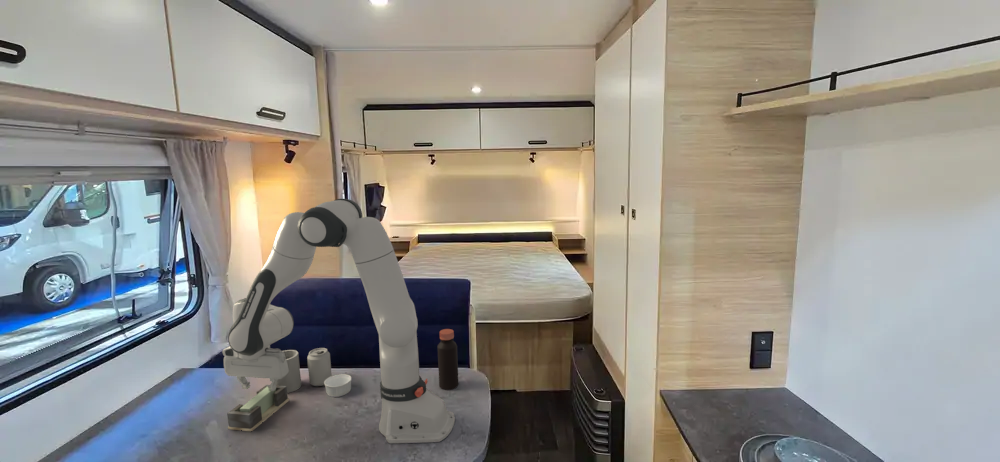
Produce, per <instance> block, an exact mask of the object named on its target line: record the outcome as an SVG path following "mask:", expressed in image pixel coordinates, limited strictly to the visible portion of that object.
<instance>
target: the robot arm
mask: <svg viewBox="0 0 1000 462" xmlns="http://www.w3.org/2000/svg"><path fill="white" fill-rule="evenodd" d="M342 245H345V246H346V247H347V248H348V249H349V251H350V253H351V256H352V258H353V262H354V265H355V267H356V270H357V272H358V274H359V278H360V280H361V282H362V285H363V288H364V292H365V294H366V298H367V302H368V305H369V309H370V312H371V315H372V318H373V323H374V325H375V327H376V330H377V331H376V332H377V334H378V343H379V344H378V345H379V350H378V351H379V362H380V363H379V364H380V377H381V378H380V379H381V380H380V382H379V384H380V385H379V390H380V392H379V393H380V398H381V414H380V419H379V420H380V421H379V425H378V430H379V432H380V433H381V435H383V436H384V437H385V440H386V442H387V443H388V444H411V443H413V444H415V443H417V444H418V443H420V444H421V443H439V442H442V441H443V440H445V438H447V437H448V436H449V435H450V433H452V430H453V429H454V426H455V422H456V418H455V413H454V412H453V411H451V410H447V405H446V402H445V400H444V399H443V398H442V397H440V396H438V395H437V394H435V393H434V392H432V390H430V389H428V388H427V384H428V382H429V381H428V378H425V380H423V379H422V376H421V374H420V361H419V347H418V346H419V345H418V337H417V336H418V333H417V330H418V326H419V325H418V317H417V313H416V312H417V311H416V306H415V303H414V302H413V299H412V298H411V297H410V293H409V292H408V291H409V290H408V288H407V285H406V282H405V281H406V280H405V278H404V275H403V272H402V269H401V266H400V265H399V261H398V258H397V254H396V252H395V249H394V246H393V243H392V240H391V239H390V237H389V235H388V233H387V231H386V229H385V227H384V226H383V224H382V223H381V221H380V220H379V219H377V218H376V217H372V216H364V217H363V211H362V208H361V207H360V206H359V204H358V203H356V202H355V201H354V200H351V199H348V198H337V199H334V200H331V201H324V202H322V203H320V204H318V205H316V206H314V207H311V208H309V209H307V210H306V211H305V212H302V211H300V212H299V211H295V212H291V213H290V212H289V214H287V215H286V216H285V217H284V218H283V220H282V222H281V223H280V225H279V228H278V230H277V232H276V235H275V238H274V241H273V244H272V247H271V251H270V253H269V256H268V257H267V259H266V261H265V263H264V264H263V266H262V268H261V270H260V271H259V272H258V273H257V275H256V276H255V278H254V280H253V282H252V283H251V286H250V289H249V290H248V293H247V296H246V297H244V298H241V299H239V300H237V301H236V302H234V304H233V307H232V324H231V326H230V328H229V332H228V340H227V341H228V346H227V347H225V348H224V349H222V355H223V356H224V357H223V368H224V373H225V374H226V375H227V376H228V377H236V378H237V380H238V382H239V383H240V385H241V389H242V390H249V388H250V387H251V382H250V381H248V380H247V378H255V379H256V378H257V379H268V380H269V382H270V384H268V385H269V386H268V388H269V389H268V390H269V391H274V390H275V389H276V383H277V381H278V379H282V378H283V377H285V376H286V375H287V374H288V372H289V370H288V365H287V361H286V358H285V354H284V352H282V351H283V350H281V348H271V345H272V344H274V343H276V342H278V341H279V340H281V339H283V338H286V337H287V336H288V335H290V334H291V333H292V332H293V329H294V325H295V322H294V317H293V315H292V312H290V310H288V309H287V308H284V307H282V306H276V305H273V304H271V302H272V301H273V300H274V298H275V297H276V296H277V295H278V294H279V293H281V292H282V291H283V290H284V289H286V288H288V287H289V286H290V285H292V284H294V283H295V282H297V281H298V280H300V279H301V278H303V277H304V276H305V275H306V274H307V272H308V271H309V269H310V267H311V266H312V263H313V260H314V259H315V258H314V257H315V254H316V251H317V247H318V248H326V247H327V248H328V247H329V248H330V247H332V248H340V247H341V246H342Z"/></svg>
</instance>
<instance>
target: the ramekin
mask: <svg viewBox="0 0 1000 462" xmlns="http://www.w3.org/2000/svg"><path fill="white" fill-rule="evenodd" d="M323 386H325V392H326V395H327V396H328V397H332V398H338V397H343V396H345V395H347V394H348V393H350V392H351V389H352V376H351V375H350V374H345V373H340V374H339V373H338V374H335V375H332V376H331V377H329V378H327V379H326V380H325V381H324V385H323Z"/></svg>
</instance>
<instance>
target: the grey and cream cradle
mask: <svg viewBox="0 0 1000 462" xmlns="http://www.w3.org/2000/svg"><path fill="white" fill-rule="evenodd" d="M269 385H270V384H265V385H264V386H263V387H262V388H260V389H259V390H257V391H256V395H257V394H258V393H260V392H261V391H262V390H263V389H264V388H266V387H268V386H269ZM288 394H289V393H287V386H277V385H276V392H275V393H274V402H275V403H274V404H273V405H272V406H271V407H270V408H269V409H267V410H266V411H265V412H264V413H263V414H262V413H261V406H256V407H255V408H254V409H253V410H251V411H250V412H249V413H248V412H240V408H241V407H242V406H244V405H243V404H241V403H240V404H238V405H237V406H234V408H232V409H230V411H228V412H227V415H226V416H227V423H228V426H227V429H228V430H234V431H241V430H242V431H243V432H251V431H252V432H253V431H254V430H255V429H256V428H258V427H259V426H260V425H261V424H263V423H264V422H265V421H267V420H268V419H269V418H270V417H271V416H273V413H274V414H275V413H276V412H277V411H278V410H280V409H281V408H282V407H283V406H284V405H286V404H287V403H288V402H289V401H290V399H289V396H288ZM262 422H263V423H262Z"/></svg>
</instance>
